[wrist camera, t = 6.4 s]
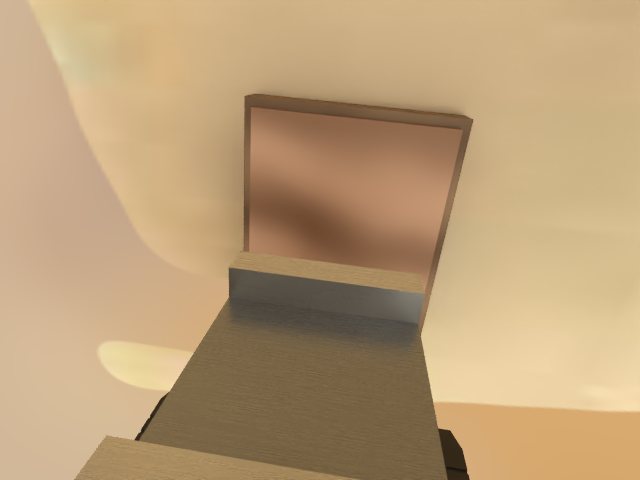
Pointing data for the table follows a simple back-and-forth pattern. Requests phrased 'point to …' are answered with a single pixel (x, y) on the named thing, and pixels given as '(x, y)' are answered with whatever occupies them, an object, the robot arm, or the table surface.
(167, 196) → the table surface
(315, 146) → the stand
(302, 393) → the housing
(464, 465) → the robot arm
